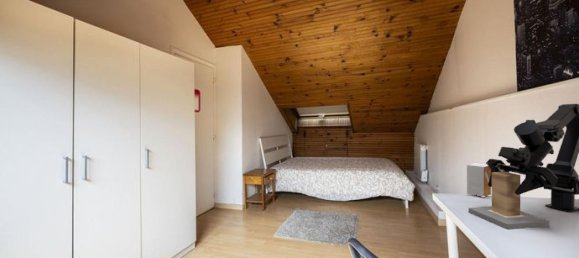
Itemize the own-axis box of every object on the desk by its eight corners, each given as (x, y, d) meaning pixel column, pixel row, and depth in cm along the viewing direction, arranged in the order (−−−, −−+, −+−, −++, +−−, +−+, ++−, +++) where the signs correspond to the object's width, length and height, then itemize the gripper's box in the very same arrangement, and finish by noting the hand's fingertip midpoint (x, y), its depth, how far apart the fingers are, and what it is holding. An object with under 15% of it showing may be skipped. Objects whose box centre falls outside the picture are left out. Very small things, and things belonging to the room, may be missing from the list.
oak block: (505, 209, 84) (505, 171, 83) (520, 215, 79) (520, 174, 78) (491, 210, 83) (491, 172, 83) (506, 216, 78) (506, 175, 78)
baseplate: (504, 209, 89) (504, 204, 89) (549, 225, 75) (549, 220, 75) (468, 212, 87) (468, 207, 87) (507, 229, 73) (507, 223, 73)
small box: (484, 198, 102) (484, 166, 101) (466, 194, 107) (466, 164, 107) (491, 194, 106) (491, 164, 106) (474, 191, 111) (474, 162, 111)
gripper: (490, 136, 90) (462, 168, 89) (549, 140, 71) (514, 180, 71) (510, 157, 91) (482, 188, 90) (573, 166, 72) (539, 205, 72)
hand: (501, 189), depth 81 cm, fingers open, 9 cm apart
